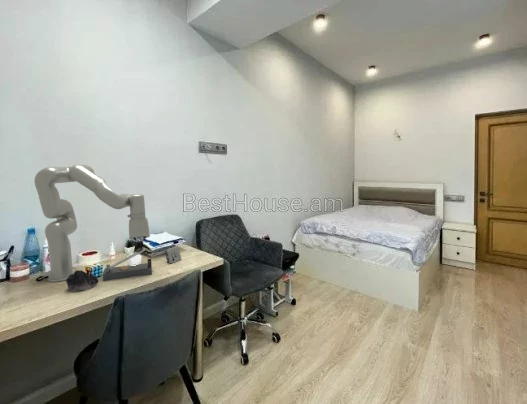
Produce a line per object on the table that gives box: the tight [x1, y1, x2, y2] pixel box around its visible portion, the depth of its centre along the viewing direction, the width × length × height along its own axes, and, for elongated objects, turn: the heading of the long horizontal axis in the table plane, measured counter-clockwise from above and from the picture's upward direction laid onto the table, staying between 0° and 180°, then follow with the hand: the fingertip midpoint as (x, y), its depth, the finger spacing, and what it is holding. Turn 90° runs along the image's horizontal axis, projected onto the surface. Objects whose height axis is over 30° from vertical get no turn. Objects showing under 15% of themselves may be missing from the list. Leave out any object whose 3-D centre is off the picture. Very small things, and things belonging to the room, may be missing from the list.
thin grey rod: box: [109, 247, 146, 269], centre depth 150 cm, size 22×3×2 cm, turn 111°
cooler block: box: [102, 258, 153, 282], centre depth 151 cm, size 24×9×7 cm, turn 114°
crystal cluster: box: [65, 269, 99, 292], centre depth 136 cm, size 13×14×10 cm
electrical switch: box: [164, 245, 182, 264], centre depth 174 cm, size 9×5×9 cm, turn 152°
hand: (140, 248), depth 153 cm, fingers closed
